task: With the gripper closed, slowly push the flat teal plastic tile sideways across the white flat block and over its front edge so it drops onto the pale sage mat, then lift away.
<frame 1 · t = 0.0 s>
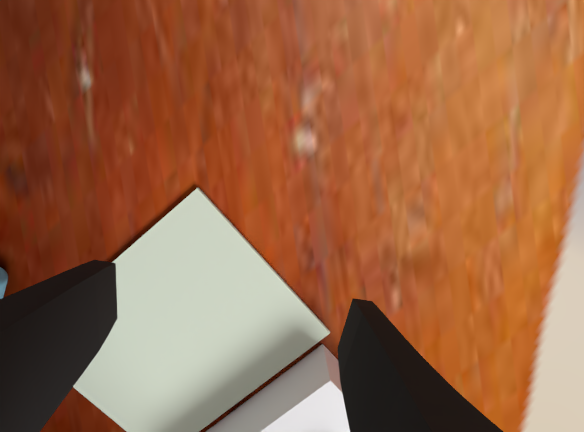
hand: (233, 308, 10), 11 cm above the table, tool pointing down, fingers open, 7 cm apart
mat: (178, 335, 21), on the table
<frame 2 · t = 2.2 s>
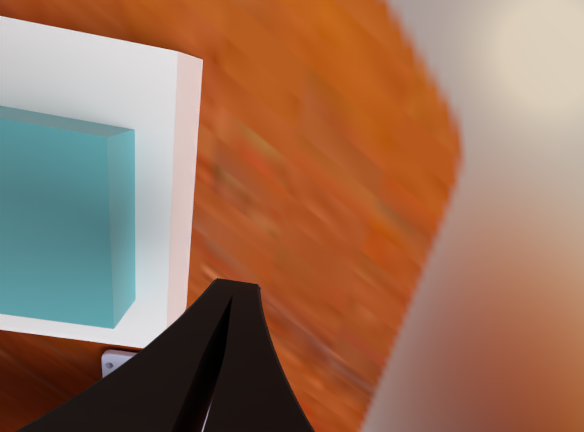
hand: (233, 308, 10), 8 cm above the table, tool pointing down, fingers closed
tile: (63, 212, 13), point 3 cm above the table, touching white flat block
white flat block: (77, 183, 16), on the table
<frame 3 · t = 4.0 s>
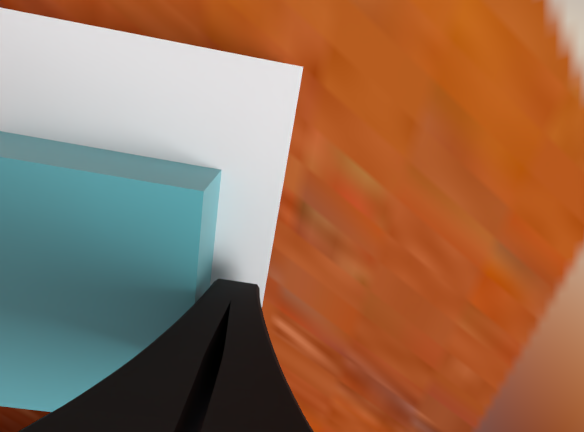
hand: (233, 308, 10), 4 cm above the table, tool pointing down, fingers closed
tile: (117, 272, 10), point 4 cm above the table, touching gripper
white flat block: (130, 224, 13), on the table
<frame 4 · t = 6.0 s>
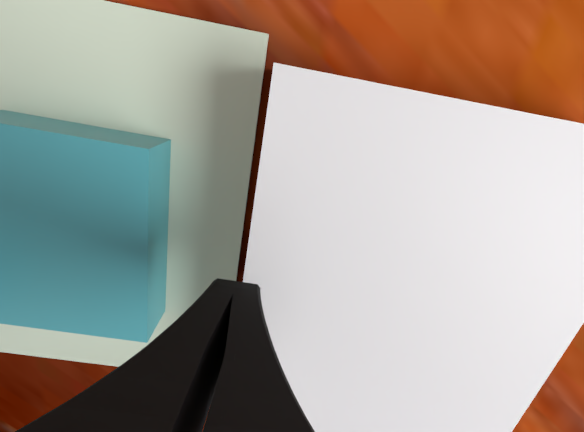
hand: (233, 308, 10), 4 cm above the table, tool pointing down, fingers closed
mat: (88, 217, 13), on the table
tile: (62, 245, 11), point 2 cm above the table, tilted 180°, touching mat
white flat block: (385, 264, 14), on the table
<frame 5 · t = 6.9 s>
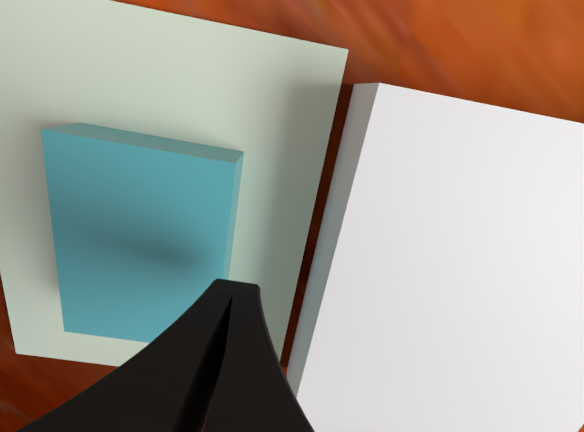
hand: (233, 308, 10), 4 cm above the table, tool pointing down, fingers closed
mat: (153, 227, 13), on the table
tile: (140, 256, 11), point 2 cm above the table, tilted 180°, touching mat
white flat block: (443, 273, 14), on the table
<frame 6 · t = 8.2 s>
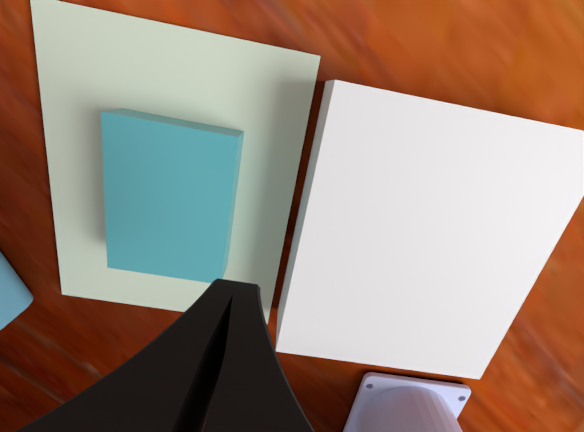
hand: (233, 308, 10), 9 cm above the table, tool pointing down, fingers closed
mat: (174, 190, 17), on the table
tile: (167, 207, 15), point 2 cm above the table, tilted 180°, touching mat
white flat block: (398, 229, 18), on the table
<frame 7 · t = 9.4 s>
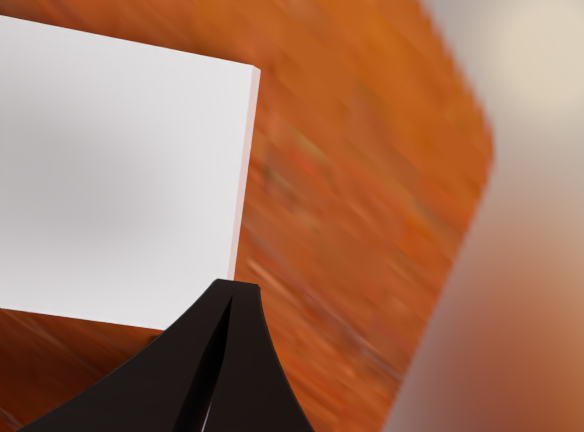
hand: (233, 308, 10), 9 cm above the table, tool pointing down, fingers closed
white flat block: (138, 183, 18), on the table
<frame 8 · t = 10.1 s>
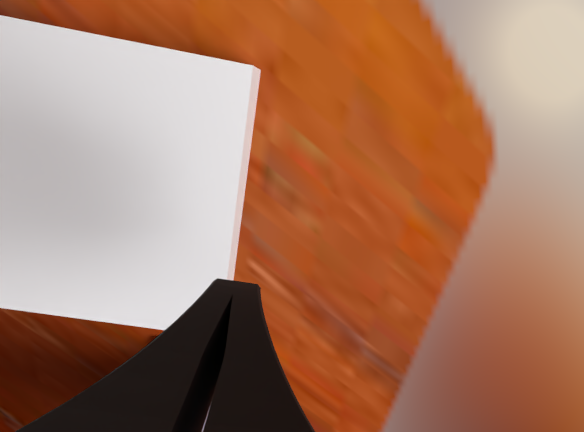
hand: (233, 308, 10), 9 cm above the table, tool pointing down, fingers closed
white flat block: (138, 183, 18), on the table
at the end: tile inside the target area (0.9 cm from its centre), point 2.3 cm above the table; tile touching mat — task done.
